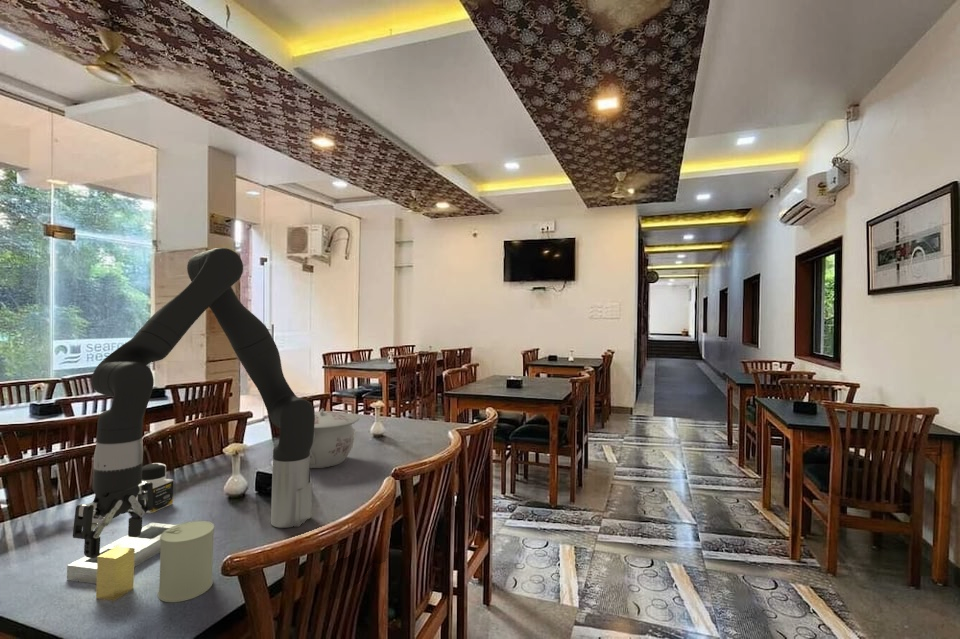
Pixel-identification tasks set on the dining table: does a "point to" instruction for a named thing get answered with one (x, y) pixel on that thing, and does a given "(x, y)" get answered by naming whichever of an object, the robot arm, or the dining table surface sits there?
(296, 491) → the robot arm
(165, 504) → the medicine bottle
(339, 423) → the chamber pot
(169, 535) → the can
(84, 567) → the rail
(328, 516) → the dining table surface
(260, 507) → the dining table surface
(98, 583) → the yellow block
